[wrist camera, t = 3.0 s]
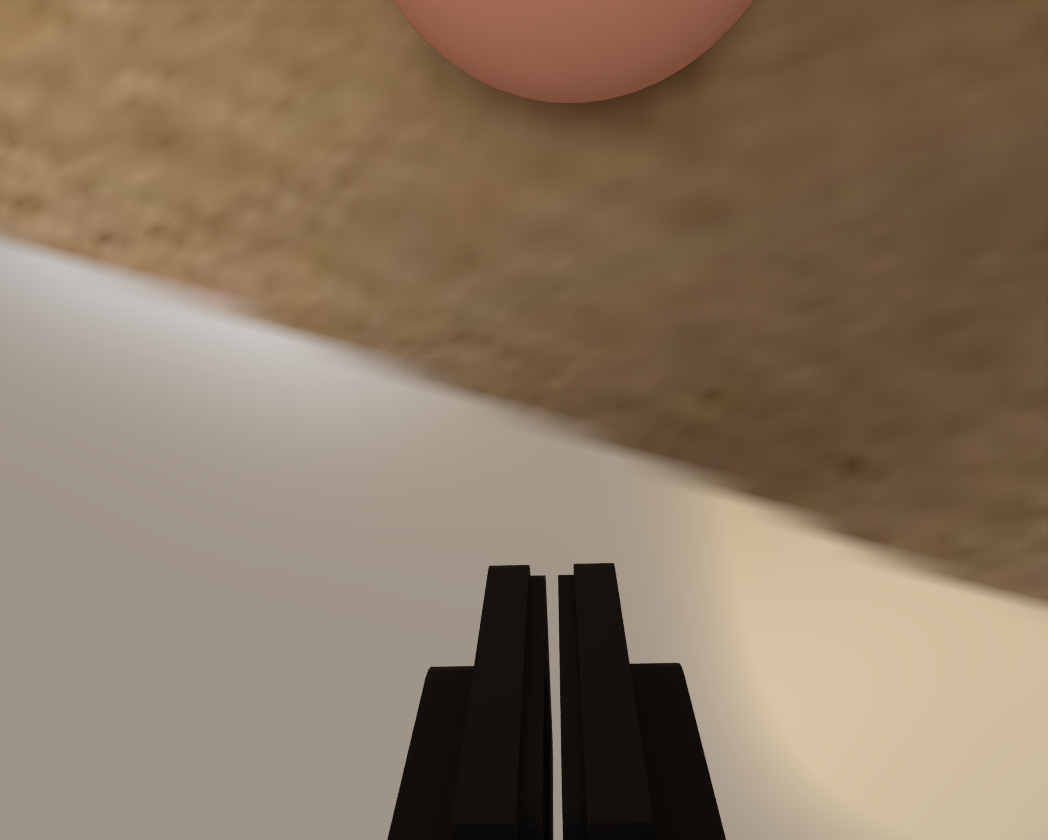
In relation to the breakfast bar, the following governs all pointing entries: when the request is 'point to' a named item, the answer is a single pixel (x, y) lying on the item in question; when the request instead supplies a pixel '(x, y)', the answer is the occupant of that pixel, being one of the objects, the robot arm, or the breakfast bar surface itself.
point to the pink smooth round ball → (571, 41)
